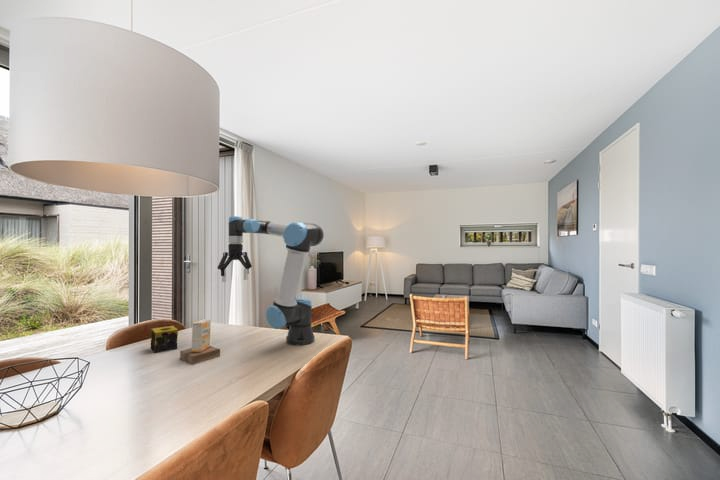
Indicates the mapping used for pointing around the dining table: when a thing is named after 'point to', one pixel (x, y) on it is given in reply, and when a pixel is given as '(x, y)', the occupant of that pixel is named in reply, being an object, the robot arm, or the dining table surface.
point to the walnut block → (199, 355)
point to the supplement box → (200, 335)
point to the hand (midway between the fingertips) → (235, 281)
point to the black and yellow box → (164, 339)
